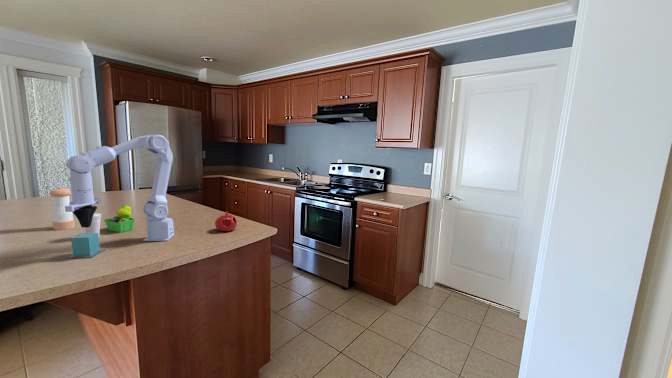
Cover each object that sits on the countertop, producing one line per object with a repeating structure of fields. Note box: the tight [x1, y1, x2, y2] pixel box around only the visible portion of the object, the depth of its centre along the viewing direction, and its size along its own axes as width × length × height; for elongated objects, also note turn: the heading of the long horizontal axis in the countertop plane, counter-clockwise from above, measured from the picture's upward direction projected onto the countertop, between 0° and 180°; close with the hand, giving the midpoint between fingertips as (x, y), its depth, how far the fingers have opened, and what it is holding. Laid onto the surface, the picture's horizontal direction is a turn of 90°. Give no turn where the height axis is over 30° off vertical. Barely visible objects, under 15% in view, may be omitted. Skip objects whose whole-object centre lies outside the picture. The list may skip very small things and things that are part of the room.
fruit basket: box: [103, 204, 136, 233], centre depth 128 cm, size 11×9×11 cm
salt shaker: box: [49, 186, 76, 231], centre depth 127 cm, size 7×7×19 cm
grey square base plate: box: [68, 248, 105, 259], centre depth 99 cm, size 7×7×6 cm
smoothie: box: [84, 205, 102, 236], centre depth 116 cm, size 6×6×14 cm
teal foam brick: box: [71, 232, 101, 256], centre depth 99 cm, size 5×5×7 cm
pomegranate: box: [214, 210, 238, 232], centre depth 134 cm, size 10×10×9 cm
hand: (86, 226), depth 99 cm, fingers closed
